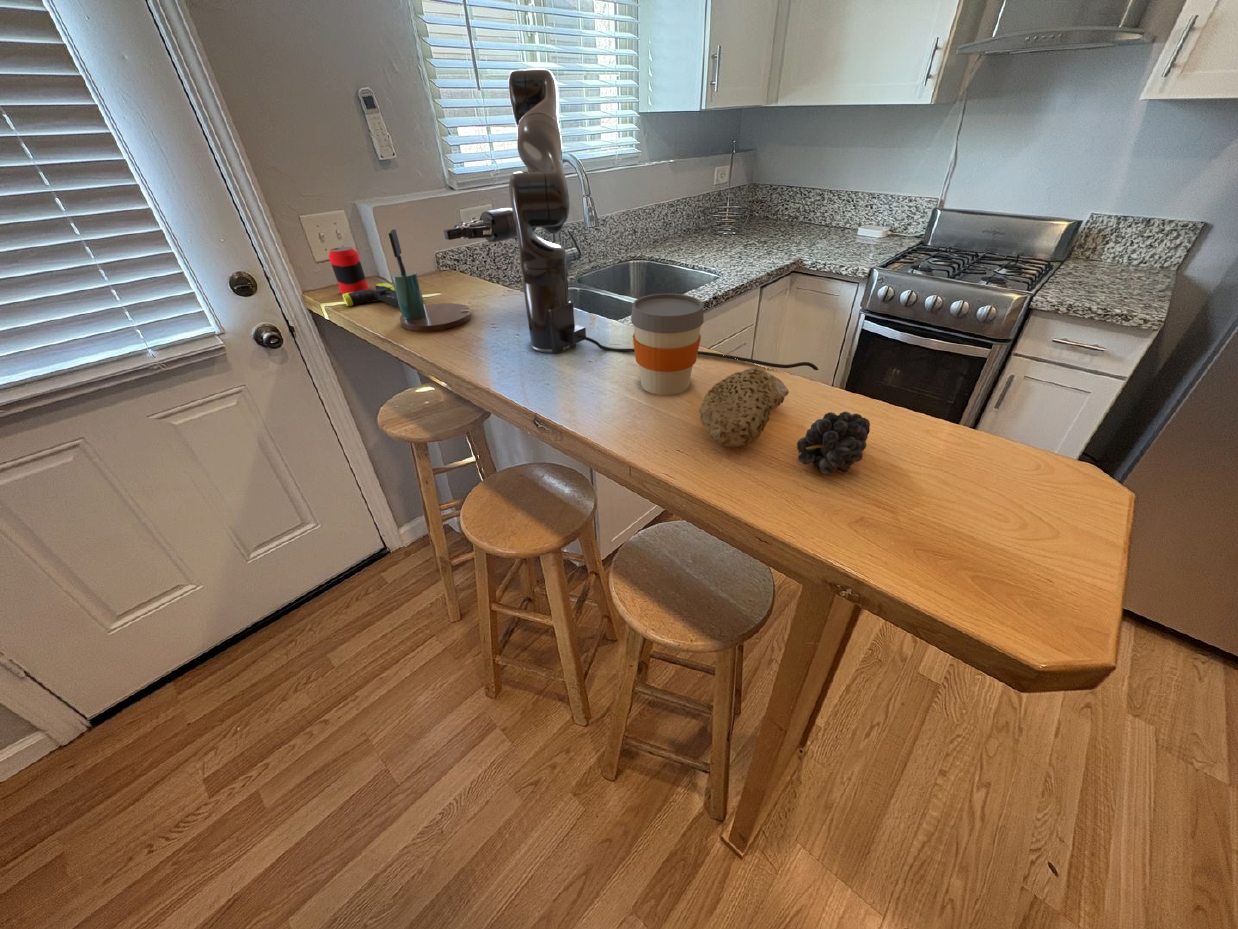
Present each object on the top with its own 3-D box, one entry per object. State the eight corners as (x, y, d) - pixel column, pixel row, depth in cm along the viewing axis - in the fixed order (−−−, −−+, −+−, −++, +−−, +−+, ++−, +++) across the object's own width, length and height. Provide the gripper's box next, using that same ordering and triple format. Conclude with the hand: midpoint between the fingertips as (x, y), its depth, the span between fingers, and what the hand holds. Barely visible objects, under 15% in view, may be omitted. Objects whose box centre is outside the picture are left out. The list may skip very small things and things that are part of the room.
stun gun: (370, 306, 124) (422, 292, 134) (335, 293, 134) (386, 280, 144) (374, 318, 126) (425, 303, 135) (339, 303, 136) (389, 290, 145)
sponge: (733, 396, 90) (665, 416, 76) (750, 357, 85) (682, 371, 72) (794, 434, 83) (732, 463, 70) (816, 394, 79) (754, 417, 66)
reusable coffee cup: (675, 406, 85) (679, 321, 76) (618, 387, 91) (616, 307, 82) (710, 380, 93) (718, 300, 84) (655, 364, 99) (657, 289, 90)
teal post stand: (472, 305, 131) (456, 221, 119) (469, 327, 117) (450, 234, 105) (406, 310, 128) (383, 225, 116) (395, 333, 115) (367, 240, 103)
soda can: (352, 288, 149) (338, 245, 142) (374, 288, 147) (361, 246, 140) (336, 295, 143) (320, 251, 136) (359, 296, 141) (344, 252, 134)
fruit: (859, 379, 72) (808, 413, 63) (909, 413, 68) (862, 455, 60) (828, 421, 78) (777, 458, 69) (872, 454, 75) (825, 497, 66)
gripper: (484, 207, 133) (427, 215, 122) (515, 210, 125) (458, 220, 115) (489, 237, 137) (434, 248, 126) (519, 242, 130) (464, 254, 119)
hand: (446, 235), depth 121 cm, fingers closed
